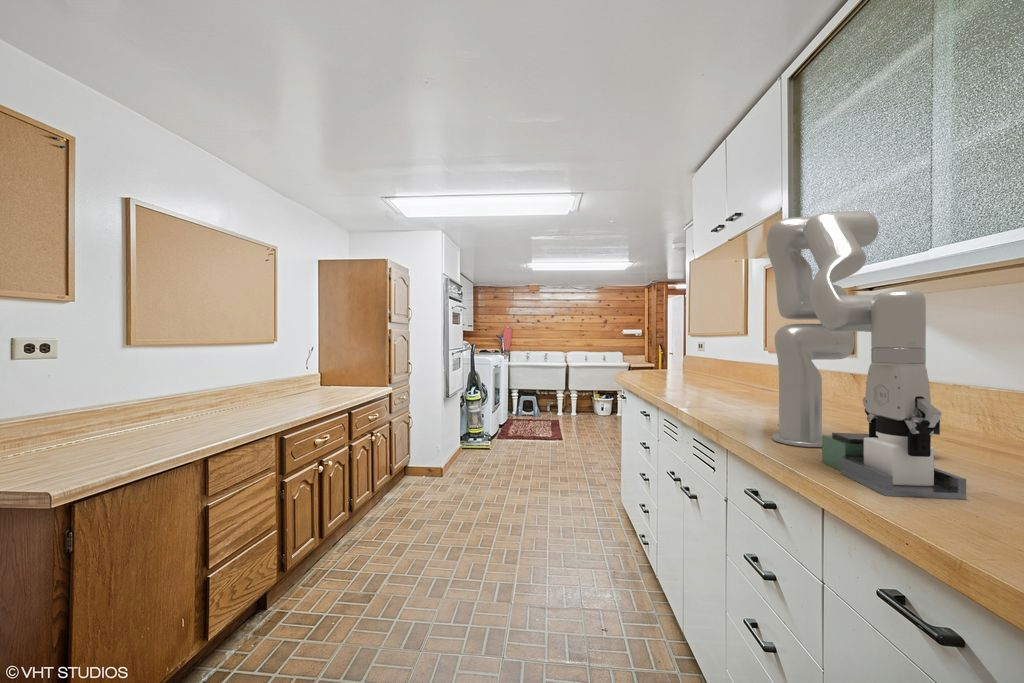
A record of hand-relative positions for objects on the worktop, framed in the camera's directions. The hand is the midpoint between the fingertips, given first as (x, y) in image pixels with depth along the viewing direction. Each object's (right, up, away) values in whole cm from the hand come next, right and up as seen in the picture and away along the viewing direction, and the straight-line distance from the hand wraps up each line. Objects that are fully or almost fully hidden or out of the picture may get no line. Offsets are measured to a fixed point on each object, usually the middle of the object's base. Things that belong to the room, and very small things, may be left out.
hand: (897, 449), depth 79 cm
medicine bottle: (0, -6, 0) cm, 6 cm away
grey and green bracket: (+1, -7, +4) cm, 8 cm away
